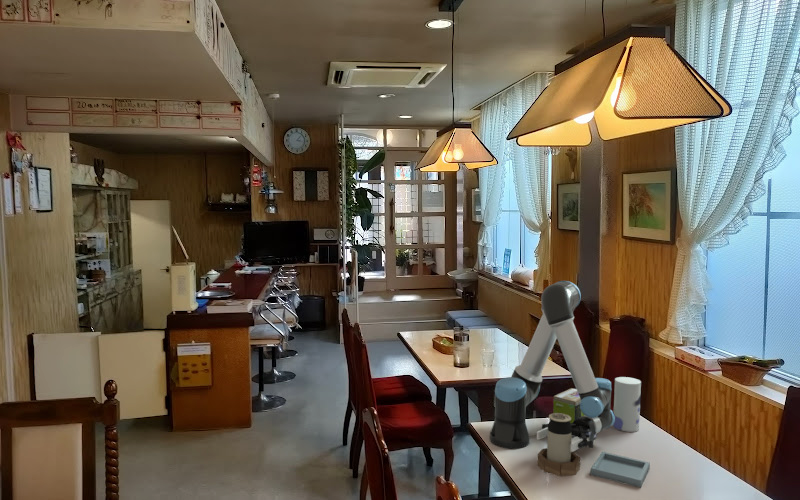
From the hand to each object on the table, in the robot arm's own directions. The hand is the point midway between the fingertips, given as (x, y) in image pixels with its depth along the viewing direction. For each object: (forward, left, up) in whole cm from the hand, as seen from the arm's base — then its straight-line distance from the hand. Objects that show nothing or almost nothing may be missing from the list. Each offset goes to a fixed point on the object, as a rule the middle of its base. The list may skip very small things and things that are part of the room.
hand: (554, 441), depth 199 cm
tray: (+20, +11, -10) cm, 25 cm away
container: (+13, +55, -10) cm, 58 cm away
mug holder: (+1, +3, -10) cm, 11 cm away
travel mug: (+1, +3, -10) cm, 11 cm away
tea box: (-5, +41, -10) cm, 43 cm away
